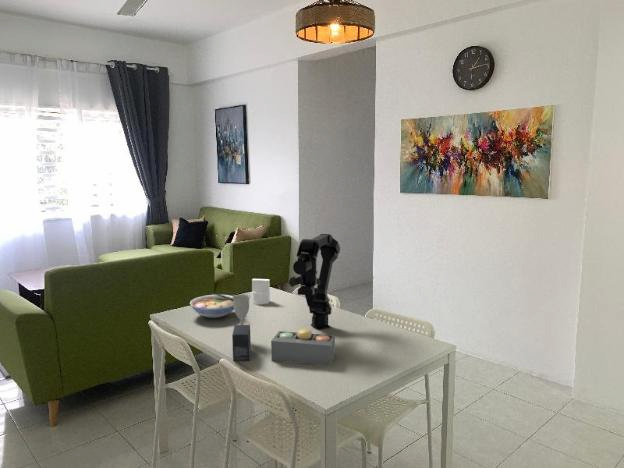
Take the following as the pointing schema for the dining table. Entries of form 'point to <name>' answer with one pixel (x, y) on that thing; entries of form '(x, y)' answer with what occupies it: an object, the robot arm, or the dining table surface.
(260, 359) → the dining table surface
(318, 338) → the button terracotta
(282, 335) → the button sage
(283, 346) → the grey compartment box
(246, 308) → the chalice
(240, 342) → the small box
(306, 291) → the robot arm
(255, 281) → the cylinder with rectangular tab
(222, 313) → the ramen bowl
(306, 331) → the button ochre
